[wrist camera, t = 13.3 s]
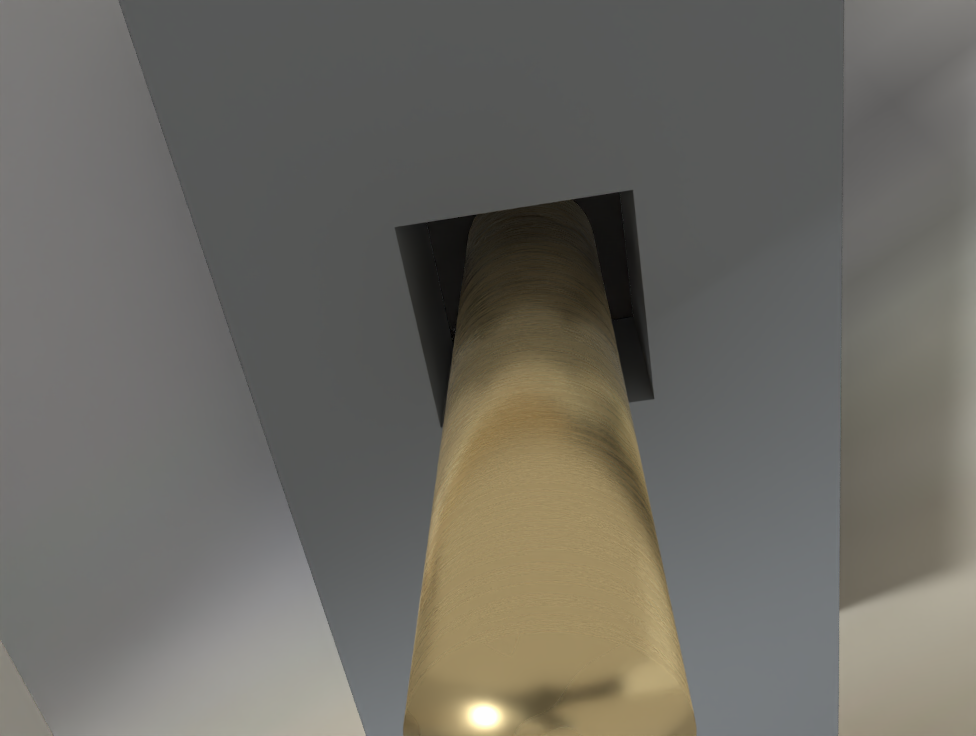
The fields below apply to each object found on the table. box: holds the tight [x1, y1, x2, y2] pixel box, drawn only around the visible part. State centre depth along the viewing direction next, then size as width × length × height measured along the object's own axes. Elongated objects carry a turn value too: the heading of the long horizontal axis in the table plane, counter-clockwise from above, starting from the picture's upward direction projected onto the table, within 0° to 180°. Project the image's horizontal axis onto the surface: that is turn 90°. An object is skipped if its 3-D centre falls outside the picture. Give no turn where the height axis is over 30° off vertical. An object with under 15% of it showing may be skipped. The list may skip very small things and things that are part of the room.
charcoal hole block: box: [119, 0, 844, 736], centre depth 21 cm, size 20×12×4 cm, turn 10°
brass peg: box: [403, 199, 697, 736], centre depth 16 cm, size 3×3×14 cm
